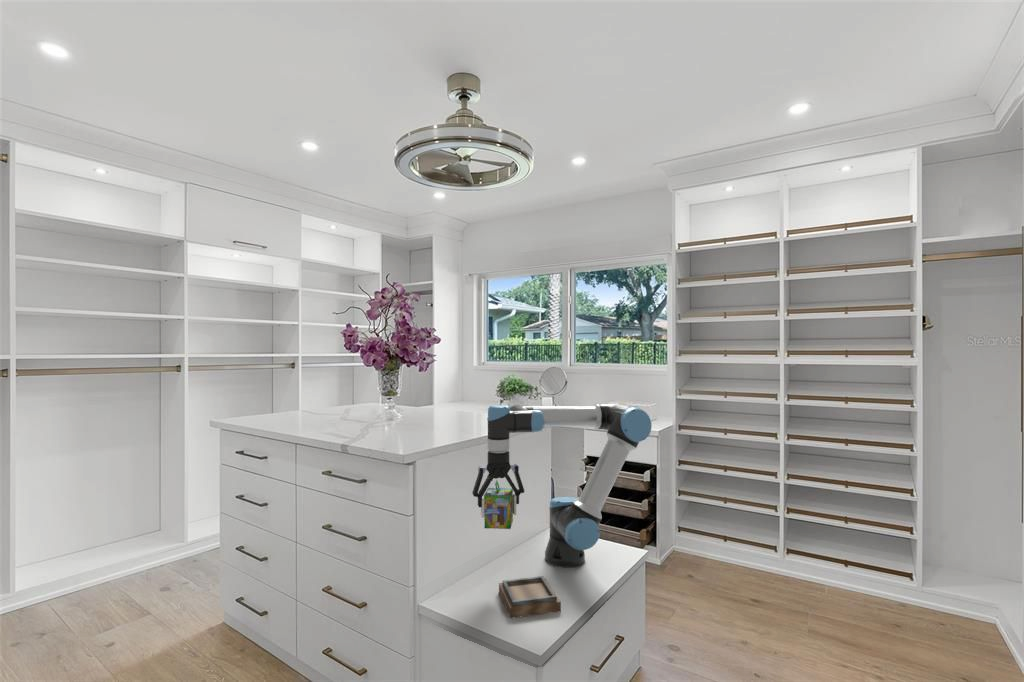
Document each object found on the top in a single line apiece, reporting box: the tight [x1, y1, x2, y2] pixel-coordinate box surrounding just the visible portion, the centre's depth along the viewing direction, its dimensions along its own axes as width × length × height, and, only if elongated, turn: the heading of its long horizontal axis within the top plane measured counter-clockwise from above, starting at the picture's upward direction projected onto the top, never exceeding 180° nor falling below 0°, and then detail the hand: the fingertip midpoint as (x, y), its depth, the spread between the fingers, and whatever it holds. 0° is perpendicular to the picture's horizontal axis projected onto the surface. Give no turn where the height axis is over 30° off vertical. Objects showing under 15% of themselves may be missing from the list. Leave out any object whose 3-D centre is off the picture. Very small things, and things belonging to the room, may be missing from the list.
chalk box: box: [483, 479, 514, 530], centre depth 173 cm, size 9×9×15 cm
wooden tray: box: [498, 575, 562, 619], centre depth 160 cm, size 16×16×4 cm
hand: (498, 514), depth 172 cm, fingers closed on chalk box, 10 cm apart
